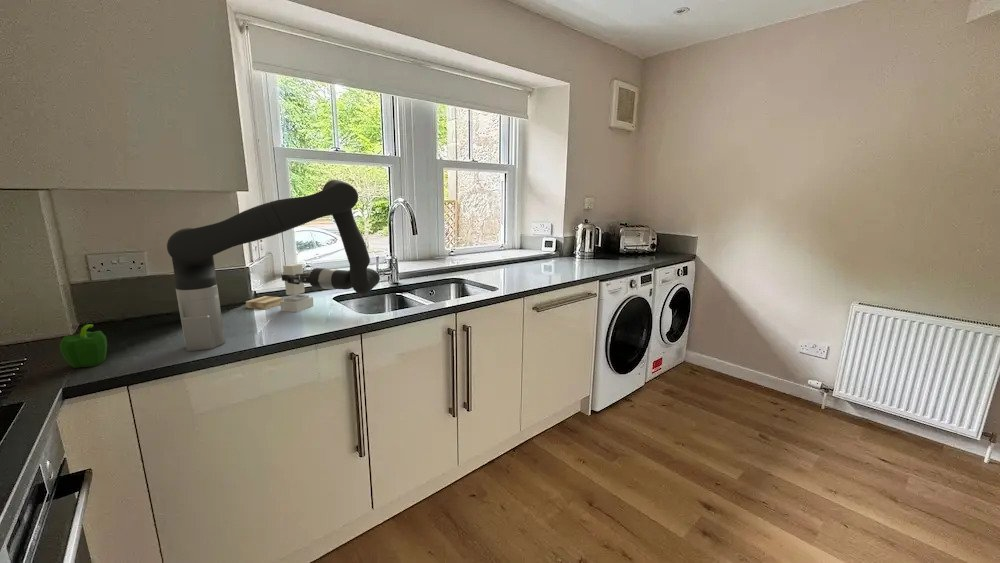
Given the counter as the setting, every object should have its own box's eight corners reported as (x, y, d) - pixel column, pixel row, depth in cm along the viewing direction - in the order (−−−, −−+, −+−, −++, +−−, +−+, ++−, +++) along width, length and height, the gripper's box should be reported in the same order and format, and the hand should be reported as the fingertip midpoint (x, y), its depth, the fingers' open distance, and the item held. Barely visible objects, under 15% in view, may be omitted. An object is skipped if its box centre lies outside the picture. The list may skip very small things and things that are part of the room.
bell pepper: (79, 373, 95) (70, 333, 92) (57, 369, 97) (47, 330, 95) (121, 359, 102) (113, 323, 100) (99, 356, 105) (91, 320, 103)
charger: (295, 295, 147) (292, 266, 145) (286, 294, 148) (283, 265, 146) (304, 292, 152) (302, 264, 149) (296, 291, 153) (293, 263, 150)
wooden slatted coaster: (283, 303, 158) (283, 297, 157) (265, 309, 149) (264, 303, 149) (265, 301, 160) (264, 296, 159) (246, 307, 151) (245, 301, 151)
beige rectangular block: (296, 312, 146) (295, 300, 145) (281, 310, 148) (279, 299, 147) (313, 305, 154) (312, 294, 153) (298, 304, 156) (297, 293, 155)
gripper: (338, 265, 151) (300, 263, 155) (311, 271, 137) (271, 269, 141) (339, 284, 152) (302, 282, 157) (313, 292, 139) (273, 289, 143)
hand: (288, 276), depth 149 cm, fingers closed on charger, 5 cm apart
